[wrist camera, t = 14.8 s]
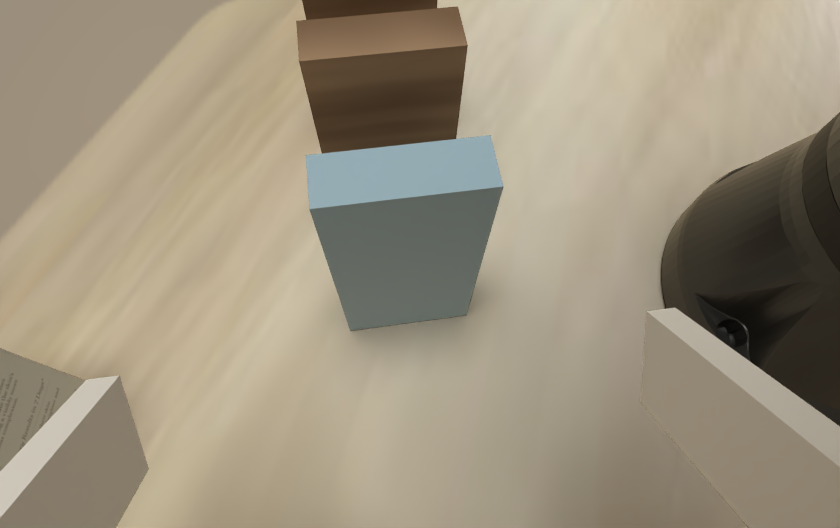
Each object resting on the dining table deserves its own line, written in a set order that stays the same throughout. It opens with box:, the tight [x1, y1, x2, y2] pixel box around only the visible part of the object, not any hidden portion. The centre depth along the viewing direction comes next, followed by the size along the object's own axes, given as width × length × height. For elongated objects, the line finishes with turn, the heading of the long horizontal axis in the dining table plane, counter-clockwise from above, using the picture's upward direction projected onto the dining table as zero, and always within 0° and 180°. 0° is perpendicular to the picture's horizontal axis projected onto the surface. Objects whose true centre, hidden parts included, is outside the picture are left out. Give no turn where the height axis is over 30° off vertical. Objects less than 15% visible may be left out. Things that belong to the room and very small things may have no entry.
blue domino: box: [306, 135, 503, 331], centre depth 22 cm, size 2×6×12 cm, turn 99°
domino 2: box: [296, 7, 468, 154], centre depth 25 cm, size 2×6×12 cm, turn 99°
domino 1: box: [302, 0, 437, 20], centre depth 27 cm, size 2×6×12 cm, turn 98°
